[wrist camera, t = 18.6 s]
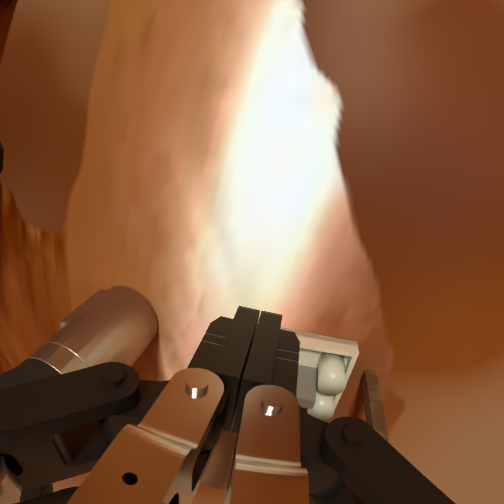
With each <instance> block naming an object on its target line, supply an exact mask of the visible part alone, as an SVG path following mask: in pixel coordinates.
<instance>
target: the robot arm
mask: <svg viewBox="0 0 504 504" xmlns="http://www.w3.org/2000/svg"><path fill="white" fill-rule="evenodd" d="M259 313H260V310H256V309H251V308H247V307H242V306H239V307H238V309H237V312H236V314H235V317H234V319H230V318H226V317H222V316H221V317H219V318H218V319H216V320H214V321H213V322H211V323H210V325H209V327H208V329H207V331H206V334H205V335H204V337H203V339H202V341H201V343H200V345H199V346H198V348H197V350H196V352H195V354H194V356H193V358H192V360H191V362H190V364H189V366H188V368H187V369H183V370H181V371H179V372H177V373H176V374H174V376H173V377H172V378H171V379H170V380H168V381H145V380H139V375H138V373H137V372H136V371H135V370H134V369H133V368H132V366H133V365H134V363H135V362H136V361H137V359H138V358H139V357H140V356H141V354H142V353H143V352H144V350H145V349H146V348H147V346H149V344H150V343H151V341H152V340H153V338H154V337H155V335H156V333H157V328H158V323H157V318H156V315H155V312H154V310H153V308H152V307H151V305H150V304H149V303H148V301H147V300H146V299H145V298H144V297H143V296H142V295H140V294H139V293H137V292H136V291H134V290H132V289H130V288H126V287H119V286H118V287H113V288H111V289H109V290H107V291H105V290H99V291H98V292H97V293H96V294H94V295H93V296H92V297H91V298H89V299H88V300H87V301H85V302H84V303H83V304H82V305H80V306H79V307H78V308H77V309H75V310H74V311H73V312H72V313H70V314H69V315H68V316H67V317H66V318H64V319H63V320H62V321H61V322H60V330H59V331H58V332H57V333H56V334H54V335H53V336H52V337H51V338H50V339H49V340H47V341H46V342H45V343H44V344H43V345H42V346H41V347H40V348H38V349H37V350H36V351H35V352H34V353H33V354H32V355H31V356H29V357H28V358H27V359H26V360H25V361H24V362H22V363H21V364H20V365H19V366H17V367H15V368H13V369H11V370H9V371H7V372H5V373H3V374H1V375H0V504H192V501H193V498H194V496H195V493H196V491H197V489H198V487H199V484H200V482H201V480H202V478H203V476H204V473H205V471H206V469H207V467H208V464H209V462H210V460H211V458H212V455H213V453H214V451H215V447H216V445H217V443H218V441H219V438H220V435H221V431H222V430H225V431H230V428H231V425H232V421H233V418H234V414H235V418H234V423H233V428H232V432H234V433H237V437H236V441H235V446H234V450H233V454H232V460H231V466H230V472H229V477H228V483H227V489H226V495H225V501H224V504H455V503H454V502H453V501H452V500H451V499H449V498H448V497H447V496H446V495H445V494H444V493H443V492H442V491H441V490H439V489H438V488H437V487H436V486H435V485H434V484H433V483H432V482H430V481H429V480H428V479H427V478H426V477H425V476H424V475H422V473H421V472H419V471H418V470H417V469H416V468H415V467H414V466H413V465H412V464H411V463H410V462H409V461H407V460H406V459H405V458H404V457H403V456H402V455H401V454H400V453H399V452H398V451H397V450H396V449H395V448H394V447H392V446H391V445H390V444H389V443H388V442H387V441H386V440H385V439H384V438H383V437H382V436H381V435H380V434H379V433H378V432H377V431H376V430H375V429H373V428H372V427H371V426H370V425H369V424H368V423H366V422H365V421H363V420H361V419H358V418H354V417H340V418H337V419H335V420H333V421H331V422H330V423H327V422H324V421H322V420H319V419H317V418H315V417H313V416H311V415H309V414H308V413H306V412H305V411H304V410H303V409H302V408H301V406H300V405H299V403H298V400H297V397H296V391H297V379H298V365H299V363H298V362H299V351H300V341H299V339H298V337H297V336H296V334H295V332H292V331H287V330H282V329H280V327H281V320H282V315H280V314H275V313H271V312H266V311H261V315H260V318H259ZM258 319H259V322H258ZM257 324H258V325H257ZM236 407H237V408H236ZM235 411H236V413H235ZM87 472H90V473H89V474H88V475H87V477H86V478H85V479H84V481H83V482H82V484H81V485H80V486H77V487H71V488H66V489H62V490H59V491H56V492H53V485H52V483H53V482H57V481H61V480H64V479H67V478H71V477H74V476H77V475H80V474H83V473H87Z"/></svg>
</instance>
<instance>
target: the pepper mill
mask: <svg viewBox="0 0 504 504" xmlns="http://www.w3.org/2000/svg"><path fill="white" fill-rule="evenodd" d="M10 1H11V0H0V6H1V7H5V8H6V7H7V5H8V4H9V2H10Z"/></svg>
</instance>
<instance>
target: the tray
mask: <svg viewBox="0 0 504 504" xmlns="http://www.w3.org/2000/svg"><path fill="white" fill-rule="evenodd" d="M280 329H282V330H287V331H292V332H295V334H296V336H297V337H298V339H299V341H300V351H299V362H298V363H299V365H298V379H297V391H296V397H297V400H298V403H299V405H300V406H301V407H303V408H308V410H307V413H308V414H309V415H311V416H313V417H315V418H317V419H319V420H327V419H329V418H330V417H332V416H333V414H334V410H335V408H336V405H337V403H338V401H339V399H340V397H341V395H342V392H343V391H344V390H345V388H346V383H347V381H348V379H349V376H350V374H351V372H352V369H353V367H354V364H355V362H356V359H357V357H358V355H359V351H358V345H357V341H351V340H345V339H339V338H333V337H328V336H322V335H317V334H312V333H306V332H301V331H296V330H291V329H286V328H281V327H280Z"/></svg>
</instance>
